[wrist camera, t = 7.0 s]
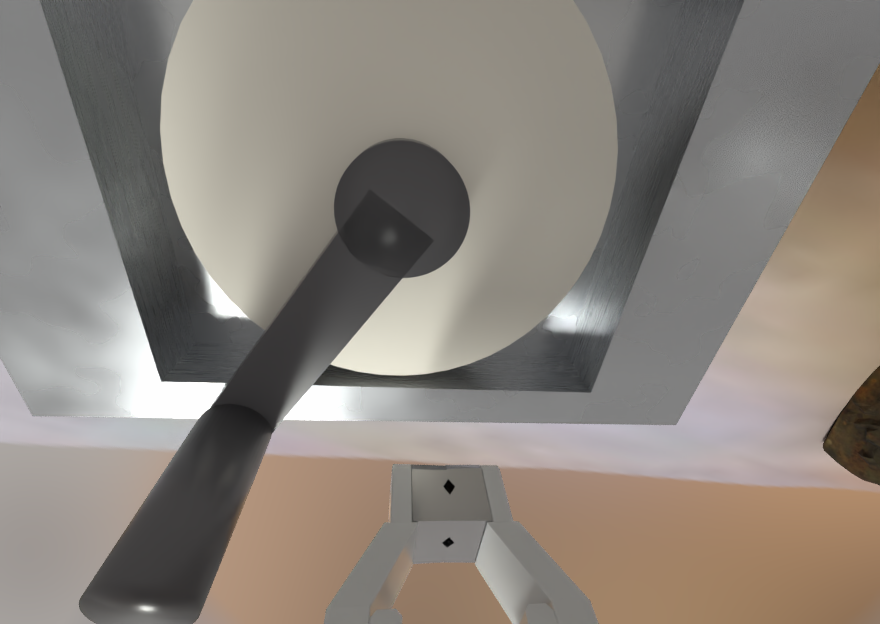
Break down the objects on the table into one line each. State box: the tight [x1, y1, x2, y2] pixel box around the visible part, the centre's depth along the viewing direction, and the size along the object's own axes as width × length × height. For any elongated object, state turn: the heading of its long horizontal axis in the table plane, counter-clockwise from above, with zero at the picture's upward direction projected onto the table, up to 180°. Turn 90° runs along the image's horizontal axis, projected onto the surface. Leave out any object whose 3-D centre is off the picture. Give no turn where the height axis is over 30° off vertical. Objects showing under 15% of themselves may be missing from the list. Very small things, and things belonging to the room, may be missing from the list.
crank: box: [79, 0, 618, 624], centre depth 8 cm, size 11×14×8 cm
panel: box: [0, 0, 880, 425], centre depth 11 cm, size 22×16×3 cm
